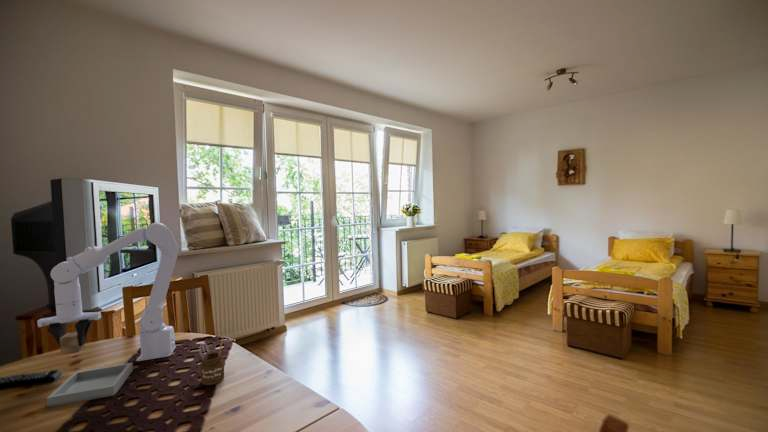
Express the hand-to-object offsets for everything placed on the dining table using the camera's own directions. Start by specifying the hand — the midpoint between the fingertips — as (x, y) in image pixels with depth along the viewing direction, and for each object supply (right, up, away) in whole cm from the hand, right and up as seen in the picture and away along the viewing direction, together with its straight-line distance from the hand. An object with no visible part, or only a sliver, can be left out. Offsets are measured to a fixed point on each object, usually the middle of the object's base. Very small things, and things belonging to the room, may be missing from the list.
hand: (72, 345), depth 103 cm
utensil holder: (+46, -8, -6) cm, 47 cm away
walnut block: (0, -2, 0) cm, 2 cm away
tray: (+13, -8, -8) cm, 18 cm away
